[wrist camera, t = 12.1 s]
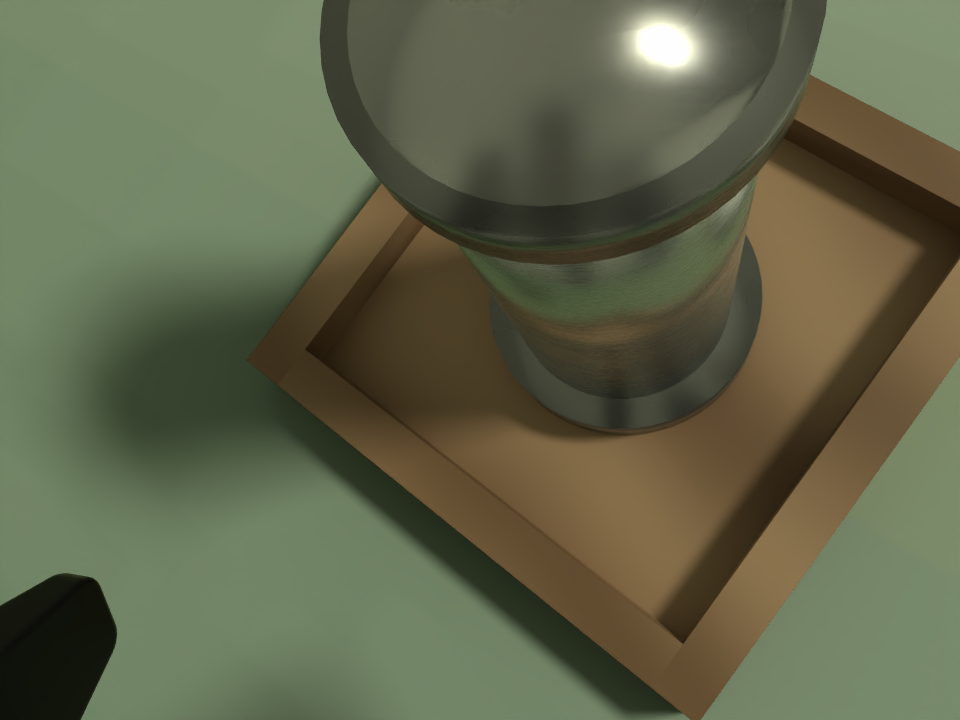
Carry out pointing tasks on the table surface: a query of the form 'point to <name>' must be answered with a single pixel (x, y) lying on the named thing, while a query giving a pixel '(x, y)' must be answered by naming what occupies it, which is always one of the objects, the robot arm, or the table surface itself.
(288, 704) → the table surface
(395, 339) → the walnut keeper tray
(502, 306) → the glass jar
